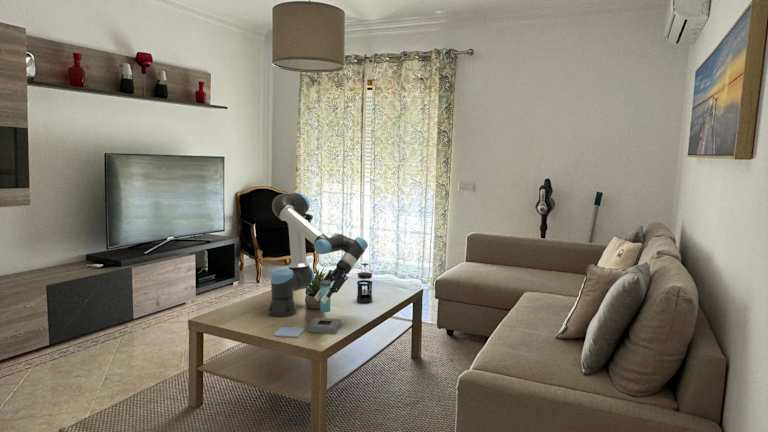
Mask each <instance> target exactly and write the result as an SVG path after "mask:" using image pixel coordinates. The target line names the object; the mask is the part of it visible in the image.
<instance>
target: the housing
mask: <svg viewBox="0 0 768 432" xmlns="http://www.w3.org/2000/svg"><path fill="white" fill-rule="evenodd" d="M342 324H343V322H342V318H328V317H327V318H325V317H314V318H313V320H311V322H309V324H308V325H307V328H306V329H307V330H306V331H307V333H313V332H314V333H317V334H329V333H330V334H331V335H336V334H337V332H338V331H339V329H340V328H341V326H342Z"/></svg>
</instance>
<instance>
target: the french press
mask: <svg viewBox="0 0 768 432" xmlns="http://www.w3.org/2000/svg"><path fill="white" fill-rule="evenodd" d="M368 265H369V263H366V262H365V263H361V266H364V267H363V268H367V266H368ZM357 278H358V279H360V280H357V281H356V285H357V295H356V303H358V304H361V305H368V304H372V303H373V281H372V280H370V279H372V278H373V273H372V272H367V271H362V272H358V273H357ZM363 287H364V288H363Z"/></svg>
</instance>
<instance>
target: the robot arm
mask: <svg viewBox="0 0 768 432" xmlns="http://www.w3.org/2000/svg"><path fill="white" fill-rule="evenodd" d="M271 209H272V212H273V213H274V215H275V216H276V217H277V218H278V219H279V220H281V221H282V222H283V221H285V222H286V223H287V224H288V226H287V227H288V236H289V237H288V238H289V251H290V264H289V265H288V268H283V269H282V268H279V269H276V270H275V271H273V272H272V273H271V279H270V284H271V285H270V287H271V290H270V291H271V300H270V303H269V307H268V309H267V311H268V315H269V316H272V317H276V316H277V318H279V317H281V318H283V317H291V316H294V315H296V314H297V313H298V312H297V306H296V302H295V299H294V292H297V291H301V290H305V289H307V288H309V287H310V286H309V285H310V284H311V283H312V281H313V280H314V281H315V272H314V271H313V269H312V268H311V267H310V264H309V262H307V251H306V239H307V241H309V243H311V244H312V245H313V246H314V250H315V252H316V253H317V254H319V255H325V254H326V255H327V254H330V253H334V252H339V251H343V252H344V254H343V255H342V256H341V258H340V259H339V261H338V262H337V263H336V268H334V269H333V270H332V269H329V271H328V273H327V274H326V275H325V277H324V278H323V279H322V280H329V281H331V288H330V289H329V290H328V291H327V292H326V294H325V295H324V296H323V298H322V299H321V301H322V302H323V303H324V304H325V303H326V301H327V300H328V299H329V298H330V296H332V295H333V294H336V293H338V292H339V291H340V289H341V288H342V286H343V285H344V284H345V282H346V281H347V280H348V279H349V276H348V274H350V273H351V271H352V268H354V266H356V263H357V262H358V261H359V259H361V257H362V256H363V254H364V253H365V252H366V250H367V248H368V246H369V243H368V242H367V241H366V240H365V239H364V238H363V237H360V236H357V237H356V238H355V239H354V238H351V237H348V236H346V235H344V234H343V233H339V232H335V233H334V234H332V235H331V237H328V236H327V235H326V234H325V233H323V232H322V231H321V230H320V229H318V228H317V227H316V226H315V225H314V224H312V223H311V222H310V221H308V220H307V219H306V217H307V212H308V211H309V209H310V200H309V198H308V196H306V195H305V194H304V193H301V192H294V193H293V192H291V193H282V194H281V193H280V194H278V195H277V196H275V197H274V198H273V201H272V204H271ZM314 281H313V282H314ZM312 284H313V283H312ZM319 286H320V288H319V289H318V291H317V293H316V294H315V296H314V297H313V298H314V299H315V301H317V302H319V301H320V293H321V282H320V283H319Z"/></svg>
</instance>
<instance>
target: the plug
mask: <svg viewBox="0 0 768 432" xmlns="http://www.w3.org/2000/svg"><path fill="white" fill-rule="evenodd" d="M320 283H321V286H320V288H321V293H320V299H319V301H320V304H319V305H320V306H319V307H320V309H319V310H320V312H321V313H330V312H331V300H332V299H331V296H332V295H331V296H330V298H329V299H328V300H327V301H326V303H325V304H324V303H323V302H322V301H321V299H322V298H323V296H324V295H325V294H326V292H327V291H328V290H329V289H330V288H331V287H332V283H331V281H329V280H323V279H322V280H321V281H320Z"/></svg>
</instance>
